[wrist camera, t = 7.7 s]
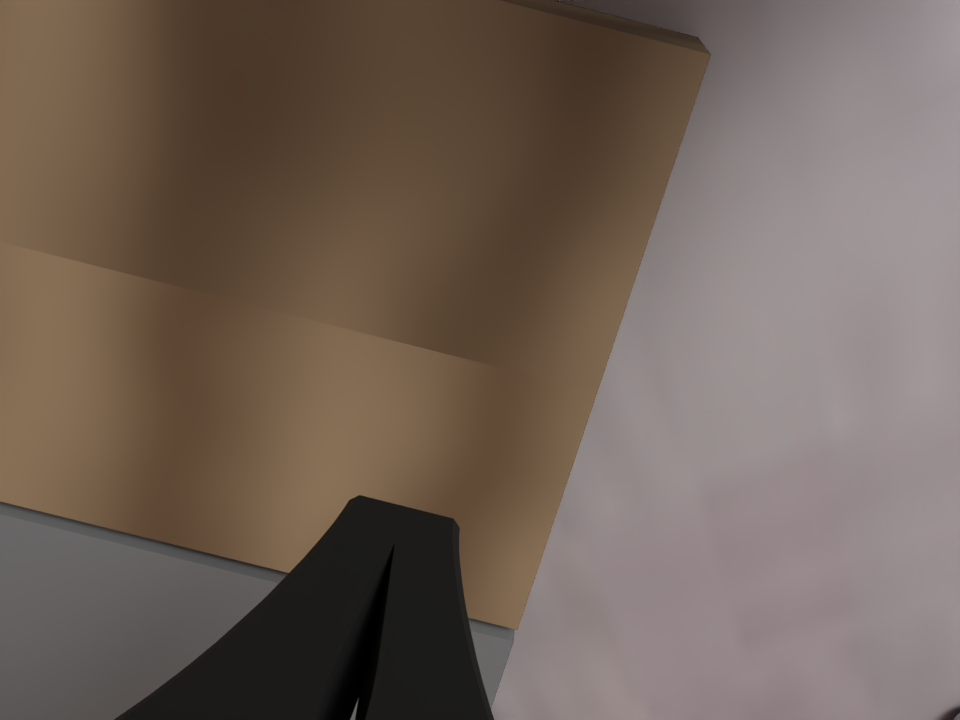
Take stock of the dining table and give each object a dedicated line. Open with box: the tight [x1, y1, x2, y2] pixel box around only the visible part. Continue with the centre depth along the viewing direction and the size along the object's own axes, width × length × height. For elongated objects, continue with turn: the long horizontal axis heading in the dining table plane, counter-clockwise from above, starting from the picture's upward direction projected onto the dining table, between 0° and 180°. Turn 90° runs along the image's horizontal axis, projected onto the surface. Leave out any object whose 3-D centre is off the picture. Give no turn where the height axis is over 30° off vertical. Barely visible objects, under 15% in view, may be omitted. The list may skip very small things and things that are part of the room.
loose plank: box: [0, 501, 515, 720], centre depth 25 cm, size 16×12×2 cm
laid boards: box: [0, 0, 711, 630], centre depth 19 cm, size 16×14×2 cm
